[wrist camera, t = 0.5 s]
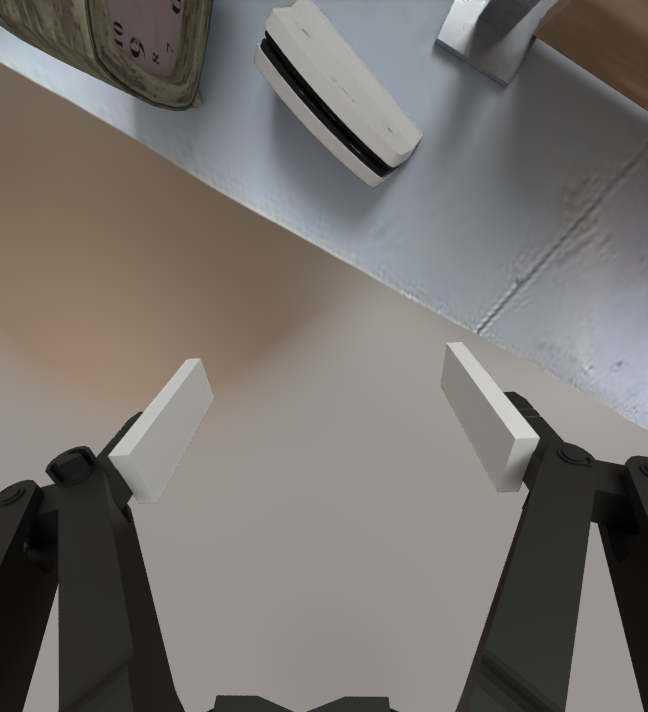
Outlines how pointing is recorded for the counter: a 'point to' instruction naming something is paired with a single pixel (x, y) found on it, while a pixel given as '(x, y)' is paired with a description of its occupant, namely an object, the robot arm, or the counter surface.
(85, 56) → the tabletop clock
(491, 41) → the gate frame
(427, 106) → the counter surface
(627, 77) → the gate leaf
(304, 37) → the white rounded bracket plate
